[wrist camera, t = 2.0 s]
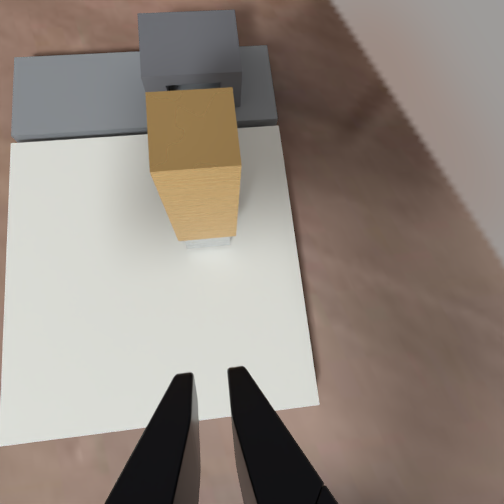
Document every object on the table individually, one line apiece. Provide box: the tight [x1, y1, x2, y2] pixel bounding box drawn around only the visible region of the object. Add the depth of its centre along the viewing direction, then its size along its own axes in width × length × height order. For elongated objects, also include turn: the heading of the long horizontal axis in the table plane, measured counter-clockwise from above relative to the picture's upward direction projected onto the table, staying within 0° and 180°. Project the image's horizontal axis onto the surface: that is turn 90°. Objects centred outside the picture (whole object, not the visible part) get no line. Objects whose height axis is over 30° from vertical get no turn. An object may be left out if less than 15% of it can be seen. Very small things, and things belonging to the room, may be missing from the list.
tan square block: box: [145, 87, 242, 249], centre depth 19 cm, size 7×3×10 cm, turn 7°
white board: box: [0, 10, 320, 446], centre depth 22 cm, size 22×16×5 cm
